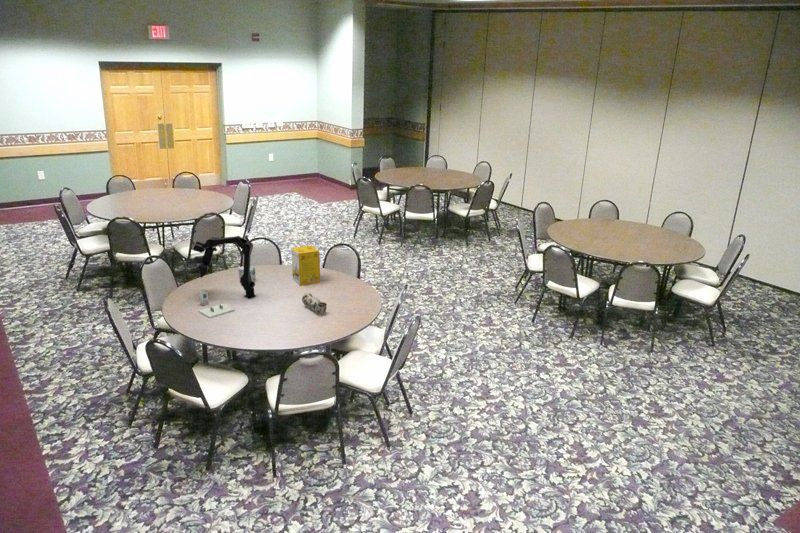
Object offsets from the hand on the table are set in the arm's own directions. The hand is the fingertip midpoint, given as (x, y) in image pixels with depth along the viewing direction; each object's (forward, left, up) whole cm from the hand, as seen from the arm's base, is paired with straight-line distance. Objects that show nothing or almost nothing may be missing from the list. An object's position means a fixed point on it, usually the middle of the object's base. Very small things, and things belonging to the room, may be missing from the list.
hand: (202, 275), depth 406 cm
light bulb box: (+5, -38, -15) cm, 41 cm away
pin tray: (-31, +7, -15) cm, 35 cm away
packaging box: (-24, -71, -15) cm, 76 cm away
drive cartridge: (-14, +7, -15) cm, 22 cm away
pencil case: (-72, -42, -16) cm, 84 cm away
